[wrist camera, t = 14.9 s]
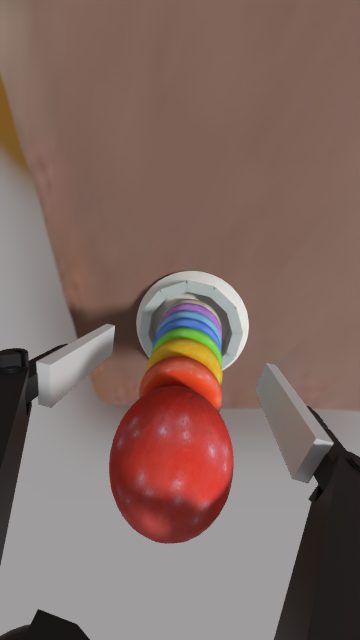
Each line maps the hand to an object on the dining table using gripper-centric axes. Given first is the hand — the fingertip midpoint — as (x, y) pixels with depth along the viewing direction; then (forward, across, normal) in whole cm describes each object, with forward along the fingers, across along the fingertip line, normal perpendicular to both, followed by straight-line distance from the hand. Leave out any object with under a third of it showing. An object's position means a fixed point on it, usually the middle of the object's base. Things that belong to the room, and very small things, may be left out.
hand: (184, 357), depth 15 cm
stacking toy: (+9, 0, 0) cm, 9 cm away
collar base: (+9, 0, 0) cm, 9 cm away
